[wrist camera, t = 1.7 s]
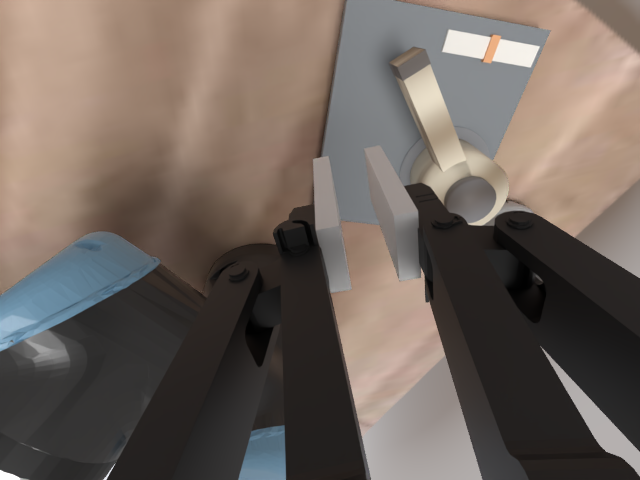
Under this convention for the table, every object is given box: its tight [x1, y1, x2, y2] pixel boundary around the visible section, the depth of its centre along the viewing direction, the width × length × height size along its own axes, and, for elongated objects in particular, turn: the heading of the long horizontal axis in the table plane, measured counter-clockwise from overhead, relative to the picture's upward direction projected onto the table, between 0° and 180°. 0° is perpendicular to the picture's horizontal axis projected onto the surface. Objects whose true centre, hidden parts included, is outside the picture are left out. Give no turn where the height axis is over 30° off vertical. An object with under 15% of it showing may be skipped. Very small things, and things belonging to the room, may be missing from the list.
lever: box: [389, 47, 509, 226], centre depth 29 cm, size 16×7×7 cm, turn 31°
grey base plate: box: [313, 0, 550, 225], centre depth 33 cm, size 20×17×2 cm
